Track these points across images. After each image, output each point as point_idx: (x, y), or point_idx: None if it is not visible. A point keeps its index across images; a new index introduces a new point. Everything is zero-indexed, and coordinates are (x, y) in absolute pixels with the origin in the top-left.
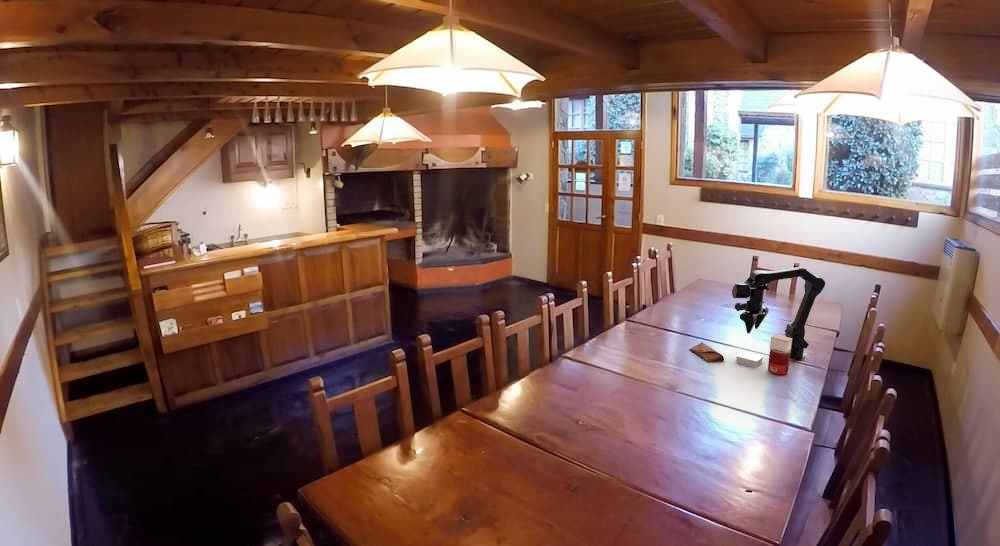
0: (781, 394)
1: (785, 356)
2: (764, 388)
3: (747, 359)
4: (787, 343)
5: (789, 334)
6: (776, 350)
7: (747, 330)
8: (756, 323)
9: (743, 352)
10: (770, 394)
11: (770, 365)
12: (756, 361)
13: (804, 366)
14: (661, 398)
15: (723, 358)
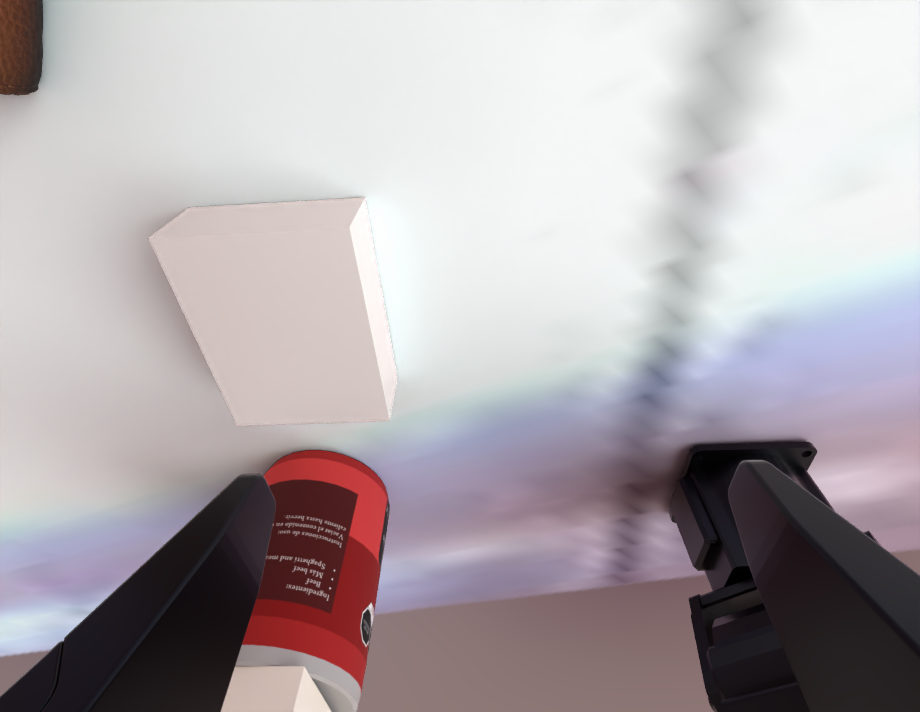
0: (69, 576)
1: None
2: (24, 519)
3: (205, 349)
4: None
5: (757, 705)
6: None
7: (191, 545)
8: (818, 611)
9: (338, 240)
10: (2, 553)
11: None
12: (236, 422)
13: (579, 544)
14: None
15: (12, 86)
